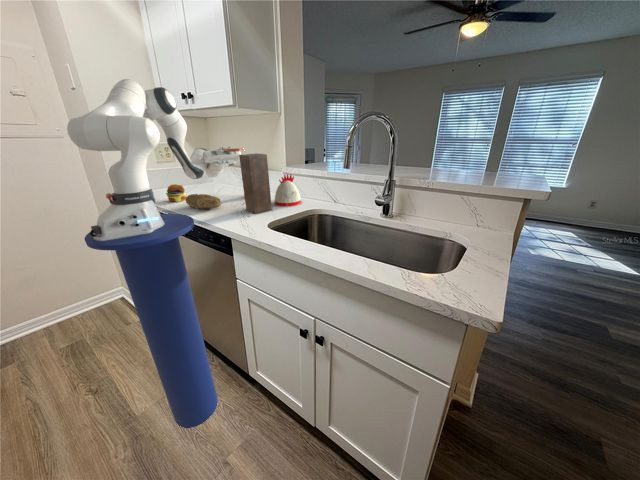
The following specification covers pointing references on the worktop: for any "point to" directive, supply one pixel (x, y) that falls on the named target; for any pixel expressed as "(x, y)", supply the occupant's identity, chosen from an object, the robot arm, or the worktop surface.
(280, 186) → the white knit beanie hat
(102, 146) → the robot arm
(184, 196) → the cheeseburger
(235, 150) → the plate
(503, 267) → the worktop surface
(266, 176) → the tall brown brick
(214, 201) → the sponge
